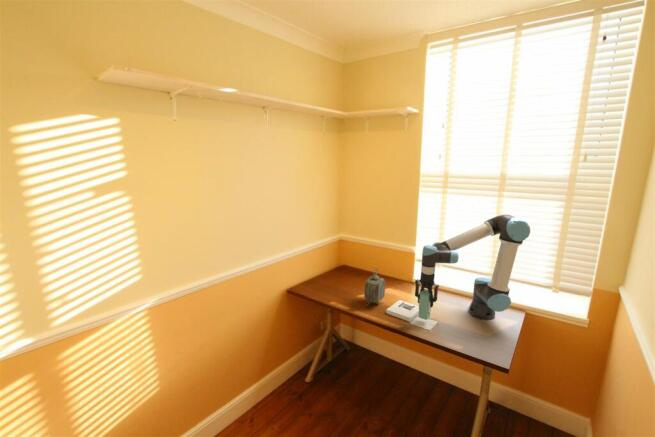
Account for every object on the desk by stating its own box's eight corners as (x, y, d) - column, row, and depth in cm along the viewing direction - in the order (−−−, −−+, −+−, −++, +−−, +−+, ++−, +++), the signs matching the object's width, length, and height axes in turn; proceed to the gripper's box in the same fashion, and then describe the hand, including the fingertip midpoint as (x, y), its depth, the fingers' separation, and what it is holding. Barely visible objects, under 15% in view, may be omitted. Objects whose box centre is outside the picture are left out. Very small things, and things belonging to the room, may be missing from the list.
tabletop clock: (372, 298, 218) (373, 264, 213) (384, 301, 214) (386, 266, 209) (363, 306, 206) (365, 270, 201) (376, 310, 201) (378, 273, 197)
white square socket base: (422, 310, 201) (422, 306, 201) (410, 321, 188) (410, 316, 187) (399, 303, 211) (399, 299, 211) (386, 313, 198) (386, 308, 197)
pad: (437, 322, 187) (437, 321, 187) (429, 330, 178) (429, 330, 178) (418, 316, 195) (418, 315, 195) (410, 323, 186) (410, 323, 186)
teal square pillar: (430, 316, 186) (432, 291, 183) (426, 320, 182) (429, 294, 179) (421, 313, 190) (423, 288, 186) (417, 317, 185) (419, 291, 182)
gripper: (445, 274, 178) (442, 312, 182) (415, 267, 189) (413, 303, 193) (441, 278, 172) (437, 317, 176) (410, 270, 183) (407, 307, 188)
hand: (424, 310), depth 185 cm, fingers closed on teal square pillar, 5 cm apart
